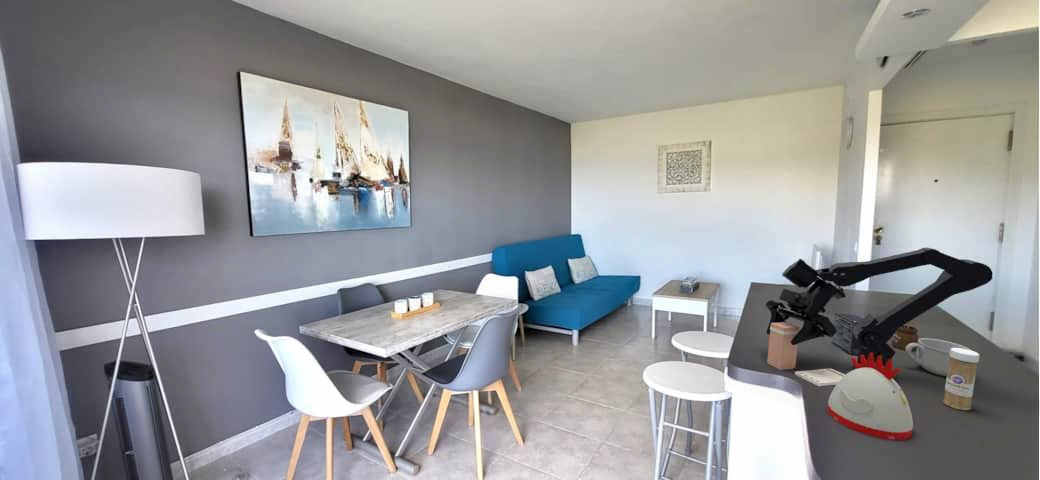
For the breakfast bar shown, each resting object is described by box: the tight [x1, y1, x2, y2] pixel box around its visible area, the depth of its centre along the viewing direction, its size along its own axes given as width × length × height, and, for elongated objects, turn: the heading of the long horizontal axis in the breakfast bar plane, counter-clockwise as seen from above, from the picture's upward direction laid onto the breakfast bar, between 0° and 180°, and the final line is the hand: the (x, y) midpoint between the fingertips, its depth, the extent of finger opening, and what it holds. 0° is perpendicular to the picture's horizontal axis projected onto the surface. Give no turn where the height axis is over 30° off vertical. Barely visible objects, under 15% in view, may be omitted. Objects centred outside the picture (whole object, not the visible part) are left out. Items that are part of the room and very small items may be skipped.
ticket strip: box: [794, 368, 846, 387], centre depth 108 cm, size 12×7×1 cm, turn 102°
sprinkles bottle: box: [942, 348, 980, 411], centre depth 93 cm, size 5×5×13 cm
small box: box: [831, 312, 864, 356], centre depth 128 cm, size 11×6×10 cm, turn 168°
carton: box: [767, 321, 800, 371], centre depth 115 cm, size 5×5×12 cm
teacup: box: [904, 337, 973, 377], centre depth 113 cm, size 14×11×8 cm
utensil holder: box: [891, 319, 919, 352], centre depth 131 cm, size 6×6×12 cm
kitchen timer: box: [826, 353, 914, 441], centre depth 86 cm, size 14×14×15 cm
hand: (779, 338), depth 114 cm, fingers open, 8 cm apart
